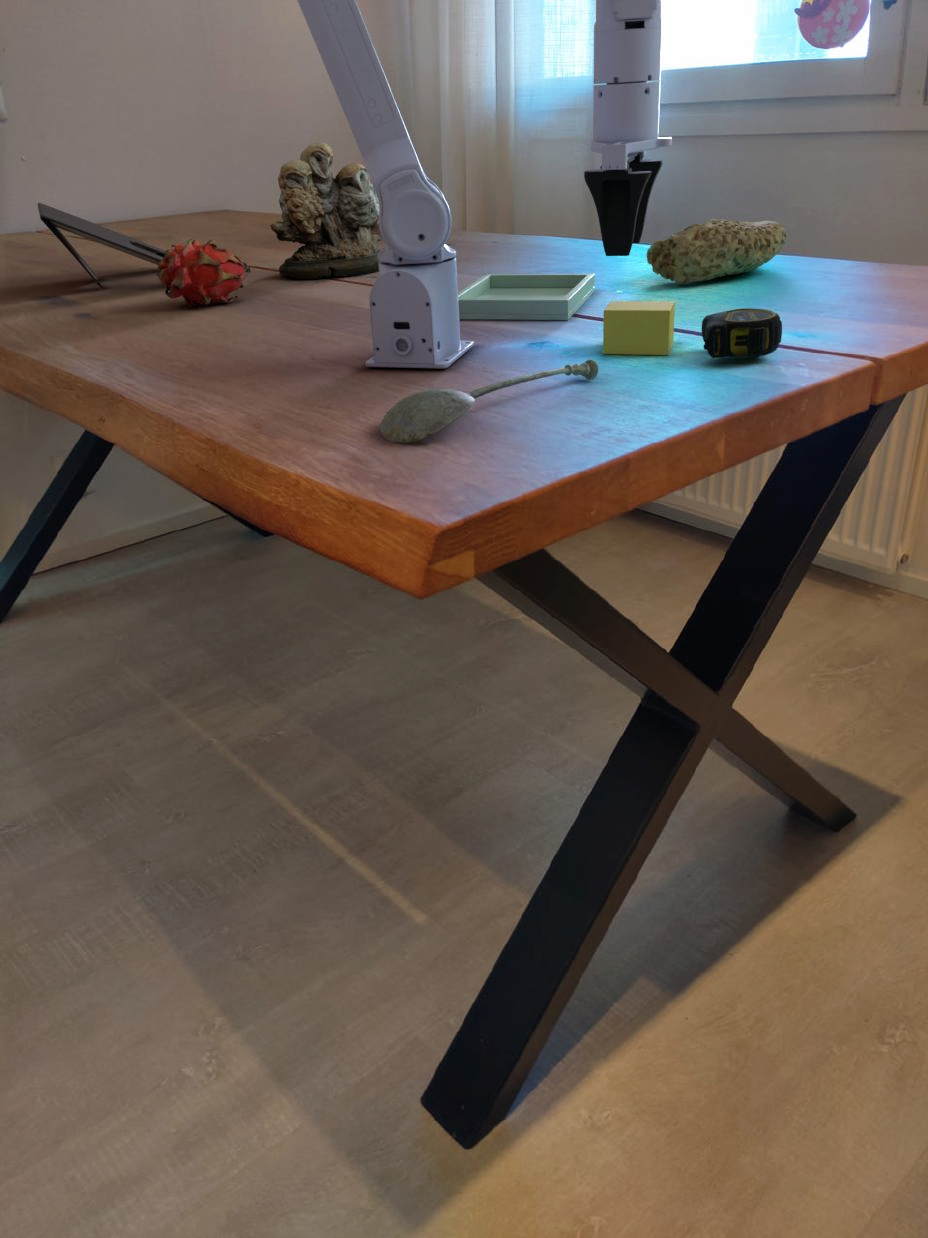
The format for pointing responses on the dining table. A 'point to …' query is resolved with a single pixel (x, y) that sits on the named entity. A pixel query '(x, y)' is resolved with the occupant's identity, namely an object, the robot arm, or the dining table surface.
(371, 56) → the robot arm
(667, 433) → the dining table surface
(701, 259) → the sponge
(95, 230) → the laptop tray
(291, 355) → the dining table surface
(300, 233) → the owl figurine
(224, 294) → the dragon fruit
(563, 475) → the dining table surface
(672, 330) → the yellow block
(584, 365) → the soupspoon
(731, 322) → the tape measure
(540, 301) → the tray
